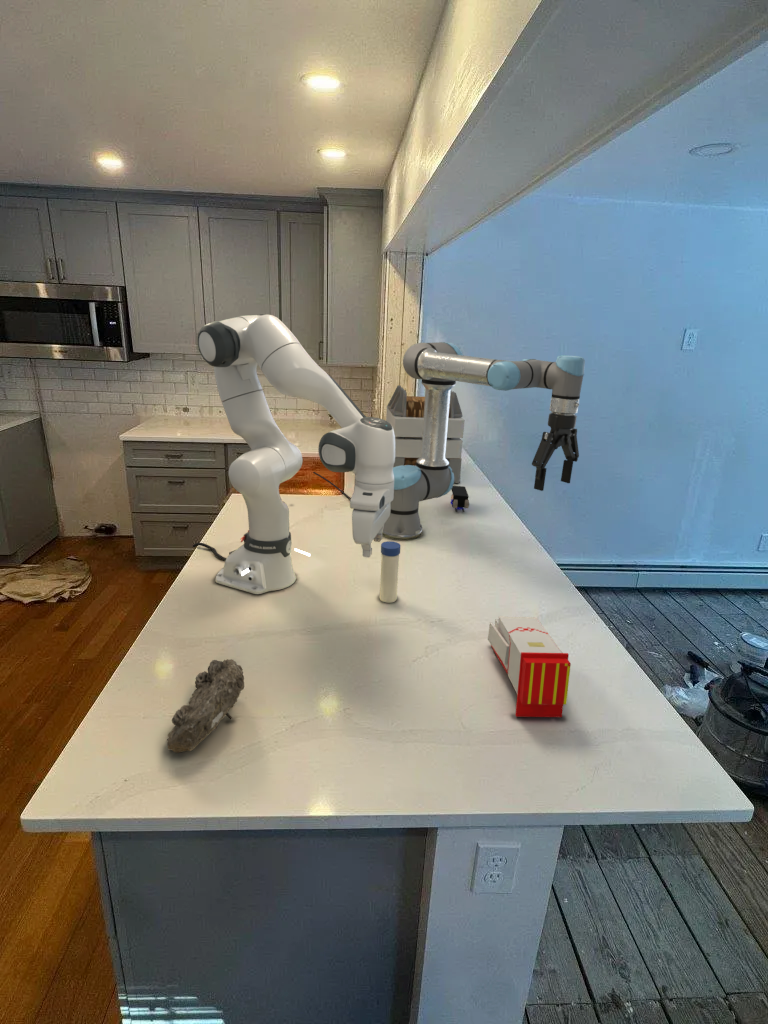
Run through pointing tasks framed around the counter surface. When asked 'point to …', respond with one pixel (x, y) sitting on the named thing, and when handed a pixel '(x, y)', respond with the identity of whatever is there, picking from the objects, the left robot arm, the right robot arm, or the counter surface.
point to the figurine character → (459, 498)
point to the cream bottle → (389, 578)
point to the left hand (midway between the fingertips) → (372, 548)
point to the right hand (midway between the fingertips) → (552, 485)
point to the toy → (531, 665)
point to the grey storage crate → (409, 429)
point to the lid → (390, 548)
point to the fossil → (206, 705)
